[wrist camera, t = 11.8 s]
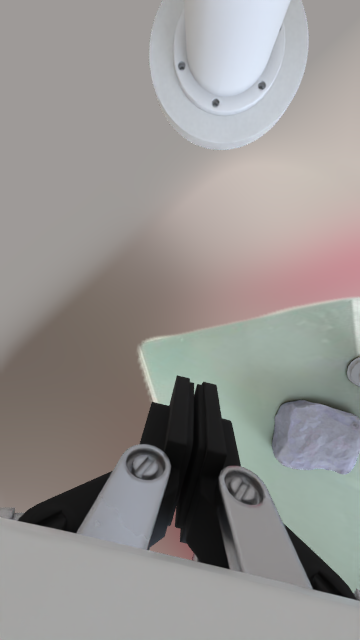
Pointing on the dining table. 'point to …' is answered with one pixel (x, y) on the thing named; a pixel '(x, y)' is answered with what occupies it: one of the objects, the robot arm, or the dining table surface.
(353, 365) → the rook chess piece
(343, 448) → the stone block
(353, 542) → the dining table surface
